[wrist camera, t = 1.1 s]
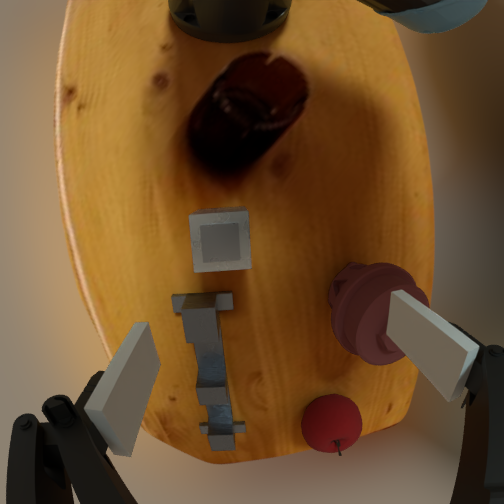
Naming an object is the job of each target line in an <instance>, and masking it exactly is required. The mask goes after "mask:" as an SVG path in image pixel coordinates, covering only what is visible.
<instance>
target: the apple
mask: <svg viewBox="0 0 504 504" xmlns="http://www.w3.org/2000/svg"><path fill="white" fill-rule="evenodd" d="M301 428H302V434H303V436H304V439H305V440H306V442H307V444H308V445H309V446H310V447H312V448H313V449H315V450H317V451H321V452H327V453H335V452H339V456H341V452H340V451H343V450H345V449H347V448H348V447H350V446H352V445H353V444H354V443H355V442H356V441H357V439H358V438H359V436H360V434H361V431H362V418H361V414H360V412H359V409H358V407H357V405H356V404H355V403H354V402H353V401H352V400H350V399H349V398H347V397H344V396H342V395H338V394H330V395H325V396H322V397H319V398H317V399H316V400H314V401H313V402H312V403H311V404H310V405H309V406H308V407H307V409H306V411H305V413H304V416H303V419H302V423H301Z"/></svg>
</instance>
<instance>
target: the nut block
mask: <svg viewBox="0 0 504 504" xmlns="http://www.w3.org/2000/svg"><path fill="white" fill-rule="evenodd" d="M189 224H190V235H191V246H192V256H193V265H194V273H197V272H212V271H227V270H241V269H252V266H251V248H250V231H249V213H248V210H247V209H246V207H245V206H239V207H224V208H210V209H198V210H197V211H195V212H193V213H192V214H190V215H189Z"/></svg>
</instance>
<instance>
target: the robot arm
mask: <svg viewBox="0 0 504 504" xmlns="http://www.w3.org/2000/svg"><path fill="white" fill-rule="evenodd" d="M357 1H359V2H361V3H363V4H365V5H367V6H369V7H371V8H373V10H374V11H375V12H376V13H378V14H380V15H383V16H387V17H389V18H391V19H393V20H395V21H396V22H398V23H400V24H402V25H403V26H405V27H407V28H408V29H411V30H413V31H416V32H419V33H440V32H445V31H448V30H451V29H453V28H456V27H458V26H460V25H462V24H464V23H465V22H467V21H468V20H470V19H471V18H473V17H474V16H475V15H476V14H477V13H479V12H480V11H481V9H482V8H483V7H484V6H485V4H486V2H487V1H488V0H357ZM291 3H292V0H168V4H169V9H170V12H171V15H172V18H173V20H174V22H175V23H176V25H177V26H178V27H179V28H180V29H181V30H183V31H184V32H185V33H187V34H189V35H191V36H193V37H196V38H198V39H202V40H206V41H211V42H219V43H235V42H243V41H249V40H253V39H256V38H259V37H262V36H264V35H267V34H269V33H270V32H272V31H274V30H275V29H276V28H278V27H279V26H280V25H281V24H282V23H283V22H284V20H285V19H286V17H287V15H288V12H289V9H290V7H291ZM386 334H387V335H388V336H389V337H390V339H391V340H392V341H393V342H394V343H395V344H396V345H397V346H398V347H399V348H400V349H401V350H402V351H403V352H404V353H405V355H406V356H407V357H408V358H409V359H410V360H411V361H412V362H413V363H414V364H415V365H416V366H417V368H418V369H419V370H420V371H421V372H422V373H423V374H424V375H425V376H426V377H427V379H428V380H429V381H430V382H431V383H432V384H433V385H434V386H435V388H436V389H437V390H438V391H439V392H440V393H441V394H442V395H443V396H444V398H445V399H446V400H447V401H448V402H451V401H452V400H454V399H456V398H458V397H460V396H461V393H462V391H463V389H464V387H467V389H468V393H467V395H466V397H465V399H464V401H463V403H462V406H461V408H463V407H464V405H465V404H466V413H465V425H464V435H463V443H462V450H461V456H460V462H459V467H458V473H457V477H456V482H455V486H454V490H453V494H452V498H451V501H450V504H504V348H503V347H501V346H499V345H489V346H487V347H486V346H484V345H483V344H482V343H480V342H479V341H478V340H477V339H475V338H474V337H473V336H471V335H469V334H468V333H467V332H466V331H464V330H463V329H462V328H460V327H459V326H458V325H456V324H453V323H451V322H447V321H446V320H444V319H443V318H441V317H440V316H439V315H437V314H436V313H435V312H433V311H432V310H430V309H429V308H428V307H426V306H425V305H423V304H422V303H421V302H419V301H418V300H416V299H415V298H413V297H412V296H411V295H409V294H408V293H406V292H405V291H403V290H397V291H392V292H391V299H390V308H389V317H388V325H387V332H386ZM160 365H161V364H160V360H159V357H158V354H157V351H156V347H155V344H154V341H153V337H152V334H151V330H150V326H149V323H148V322H136V323H135V324H134V325H133V327H132V328H131V330H130V331H129V333H128V335H127V336H126V338H125V339H124V341H123V343H122V344H121V346H120V347H119V349H118V351H117V352H116V354H115V356H114V357H113V359H112V360H111V362H110V364H109V365H108V367H107V369H106V371H98V372H97V373H96V374H95V375H93V376H92V377H91V379H90V380H89V382H88V384H87V386H86V387H85V388H84V391H83V392H82V393H81V395H80V396H79V398H78V400H77V402H76V403H75V405H73V403H72V401H71V400H70V398H69V397H67V396H65V395H55V396H52V397H50V398H49V399H47V400H46V401H45V402H44V404H43V406H42V412H43V414H44V415H45V417H46V418H47V420H48V421H49V422H45V423H40V422H39V421H38V419H37V418H36V417H35V415H33V414H23V415H21V416H19V417H18V418H17V419H16V420H15V422H14V424H13V430H12V435H11V441H10V448H9V458H8V467H7V485H6V504H74V500H73V493H72V487H71V484H72V486H73V488H74V491H75V493H76V495H77V497H78V500H79V502H80V504H138V503H137V502H136V500H135V499H134V497H133V496H132V494H131V493H130V491H129V490H128V488H127V487H126V485H125V484H124V482H123V481H122V479H121V477H120V476H119V474H118V473H117V471H116V470H115V467H114V466H113V464H112V462H111V461H110V459H109V457H108V456H107V454H106V451H107V448H108V447H109V448H110V449H111V451H112V452H113V454H115V455H121V456H128V457H131V455H132V451H133V448H134V444H135V441H136V438H137V435H138V431H139V428H140V425H141V422H142V419H143V416H144V412H145V409H146V406H147V403H148V400H149V397H150V394H151V391H152V388H153V385H154V382H155V380H156V377H157V374H158V371H159V368H160Z"/></svg>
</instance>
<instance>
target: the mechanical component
mask: <svg viewBox="0 0 504 504" xmlns="http://www.w3.org/2000/svg"><path fill="white" fill-rule="evenodd" d="M397 290H403V291H405V292H406V293H408V294H409V295H411V296H412V297H413V298H415V299H416V300H418V301H419V302H421V303H422V304H423V305H425V306H426V307H428V308H429V302H428V299H427V297H426V295H425V293H424V292H423V291H422V290H421V289H420V288H418V287H417V286H416V283H415V281H414V279H413V278H412V276H411V275H410V274H409V273H408V272H407V271H405V270H404V269H402V268H400V267H398V266H396V265H394V264H390V263H375V264H371V265H364V264H357V263H355V262H351V263H349V264H348V265H347V267H346V268H345V269H343V270H342V271H341V272H340V273H339V274H338V275H337V276H336V277H335V279H334V280H333V282H332V284H331V286H330V290H329V299H328V302H329V304H330V306H331V308H332V313H331V324H332V329H333V332H334V334H335V336H336V338H337V339H338V341H339V342H340V344H341V345H342V346H343V347H344V348H345V349H346V350H347V351H349V352H350V353H352V354H355V355H360V357H361V358H362V359H363V360H364V361H365V362H367V363H369V364H372V365H387V364H391V363H393V362H396V361H398V360H399V359H401V358H403V357H404V356H405V353H404V352H403V351H402V350H401V349H400V348H399V347H398V346H397V345H396V344H395V343H394V342H393V341H392V340H391V339H390V337H389V336H388V335H387V334H386V332H387V325H388V317H389V308H390V299H391V292H392V291H397Z"/></svg>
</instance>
